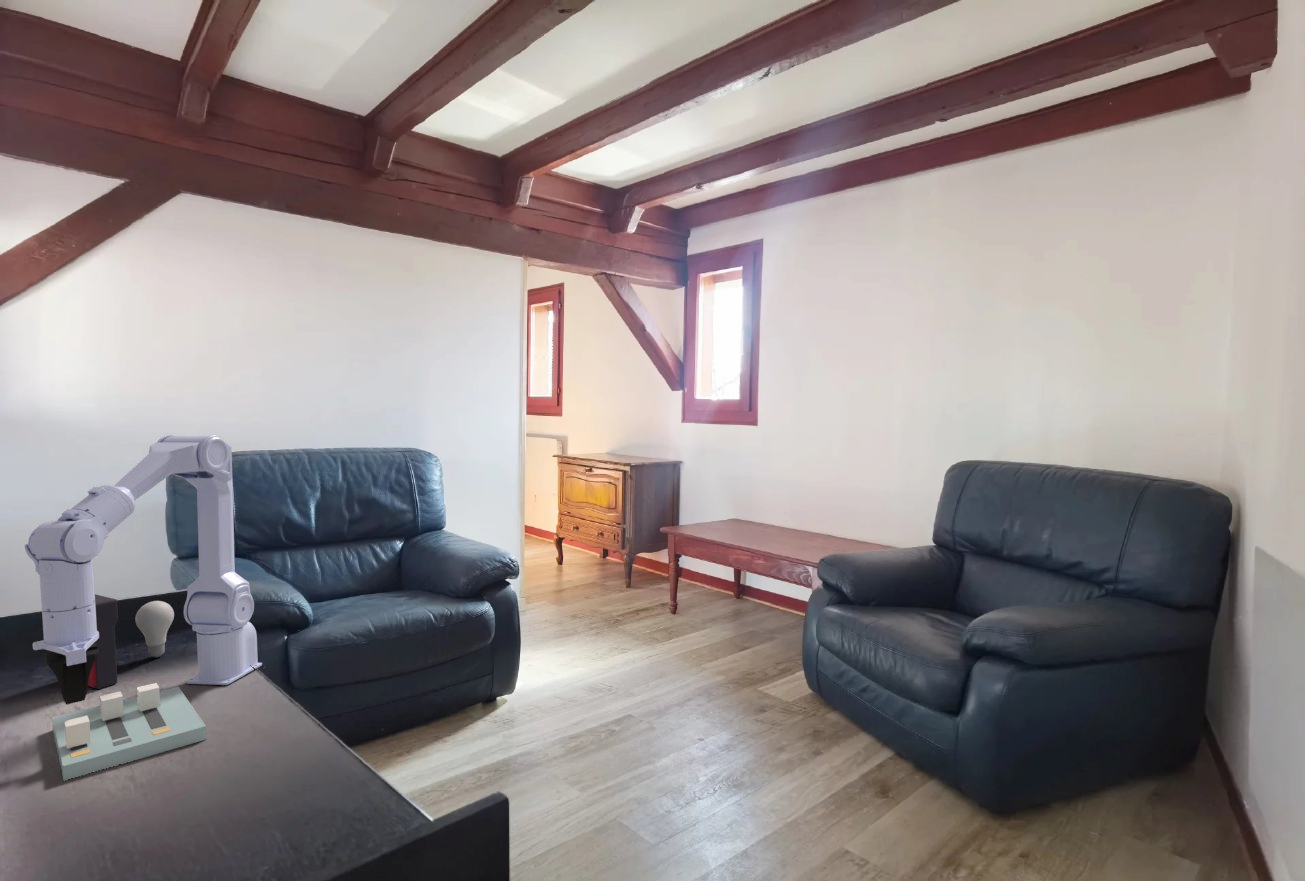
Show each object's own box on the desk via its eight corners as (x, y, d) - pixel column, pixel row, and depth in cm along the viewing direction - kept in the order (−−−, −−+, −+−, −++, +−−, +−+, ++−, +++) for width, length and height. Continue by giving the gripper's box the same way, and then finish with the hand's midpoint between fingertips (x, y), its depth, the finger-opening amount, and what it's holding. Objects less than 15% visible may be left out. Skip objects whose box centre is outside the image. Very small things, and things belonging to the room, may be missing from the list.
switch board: (52, 730, 105) (52, 716, 105) (179, 698, 116) (178, 686, 116) (63, 781, 91) (62, 766, 91) (206, 739, 102) (205, 725, 102)
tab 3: (137, 706, 108) (136, 687, 107) (157, 701, 109) (156, 682, 109) (140, 711, 106) (139, 692, 106) (160, 706, 108) (159, 687, 107)
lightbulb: (146, 665, 131) (143, 607, 131) (131, 659, 135) (128, 603, 134) (181, 655, 136) (179, 599, 136) (167, 649, 140) (164, 595, 139)
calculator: (61, 680, 124) (57, 597, 124) (90, 672, 128) (85, 591, 127) (93, 691, 119) (88, 605, 118) (121, 682, 123) (117, 599, 122)
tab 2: (100, 715, 104) (99, 696, 104) (121, 710, 106) (120, 691, 106) (102, 721, 103) (101, 701, 102) (123, 715, 104) (122, 696, 104)
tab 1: (65, 742, 96) (64, 721, 96) (88, 736, 98) (87, 715, 98) (67, 748, 94) (65, 727, 94) (90, 742, 96) (89, 721, 96)
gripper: (28, 601, 100) (34, 694, 100) (33, 624, 89) (40, 727, 90) (91, 591, 104) (96, 680, 105) (103, 612, 94) (109, 710, 95)
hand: (75, 701), depth 98 cm, fingers closed
